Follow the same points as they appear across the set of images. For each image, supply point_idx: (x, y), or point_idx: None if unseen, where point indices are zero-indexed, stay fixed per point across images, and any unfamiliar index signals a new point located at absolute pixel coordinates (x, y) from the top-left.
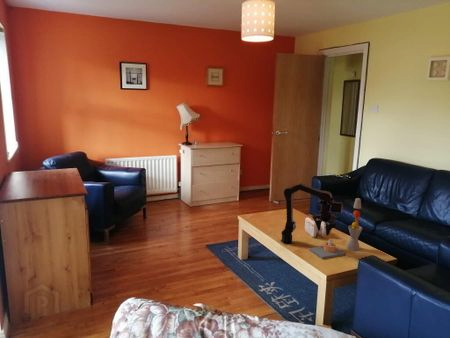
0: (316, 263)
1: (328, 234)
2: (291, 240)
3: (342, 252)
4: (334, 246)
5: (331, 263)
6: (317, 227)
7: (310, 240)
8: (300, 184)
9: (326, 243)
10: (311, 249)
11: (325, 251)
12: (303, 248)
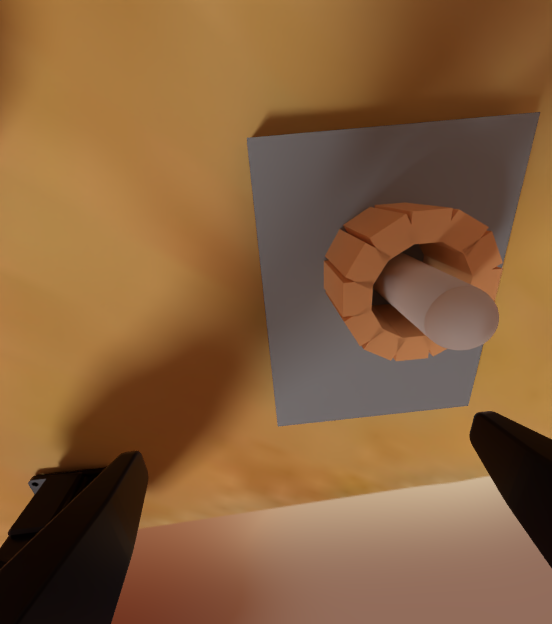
0: None
1: (524, 433)
2: (83, 486)
3: (509, 142)
4: (498, 262)
5: (547, 361)
6: (105, 596)
7: (32, 296)
8: None
9: (374, 321)
10: (307, 420)
11: None
12: (229, 433)
